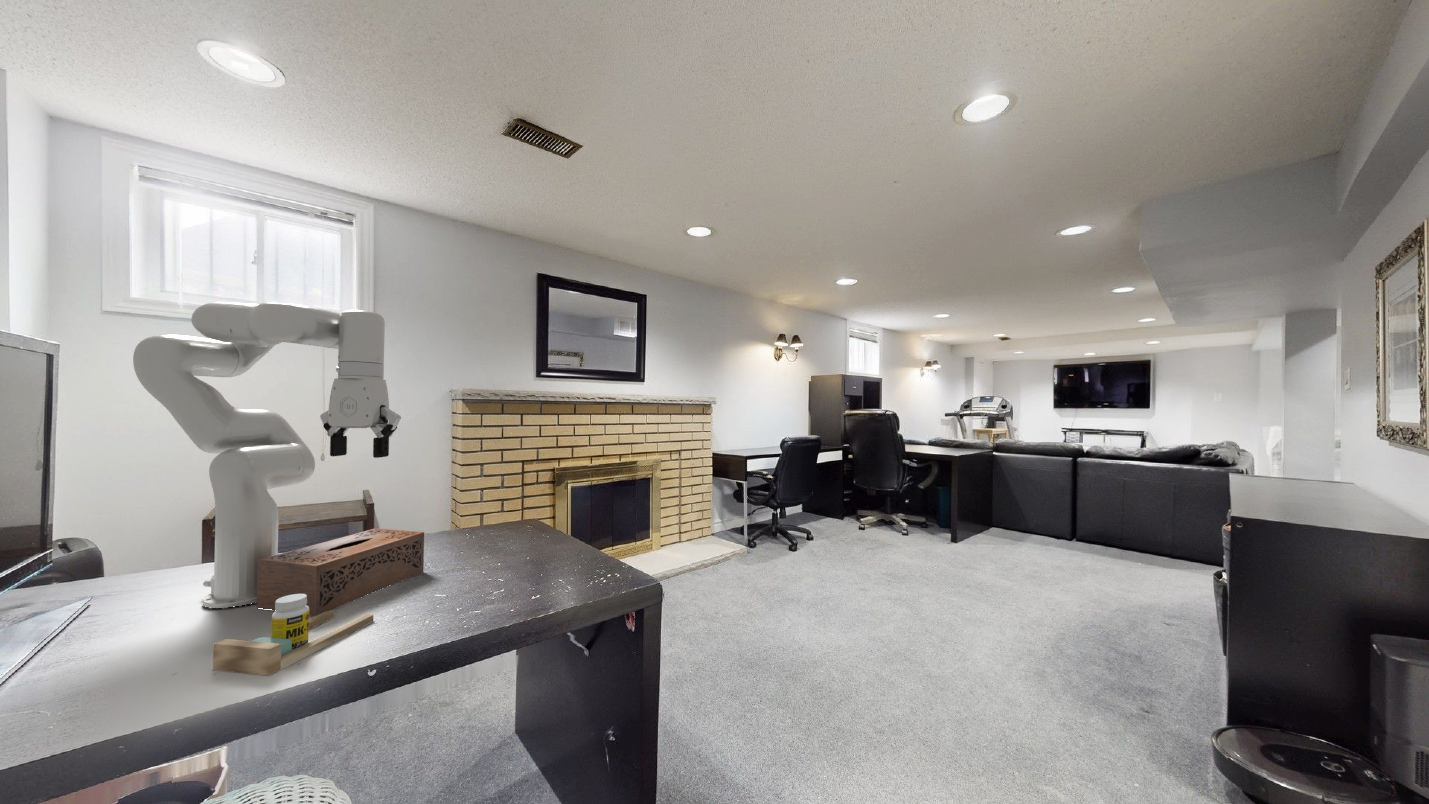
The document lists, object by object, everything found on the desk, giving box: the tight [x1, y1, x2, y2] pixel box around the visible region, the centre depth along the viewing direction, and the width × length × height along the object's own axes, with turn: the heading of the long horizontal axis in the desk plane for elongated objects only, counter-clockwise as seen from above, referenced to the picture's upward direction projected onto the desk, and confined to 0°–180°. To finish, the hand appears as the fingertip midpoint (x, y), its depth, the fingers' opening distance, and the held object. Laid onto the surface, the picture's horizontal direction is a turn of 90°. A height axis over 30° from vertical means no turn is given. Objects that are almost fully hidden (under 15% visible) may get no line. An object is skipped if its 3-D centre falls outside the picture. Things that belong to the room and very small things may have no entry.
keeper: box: [252, 636, 292, 656], centre depth 76 cm, size 6×3×3 cm, turn 82°
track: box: [212, 610, 374, 677], centre depth 82 cm, size 10×19×4 cm, turn 172°
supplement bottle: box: [270, 594, 310, 651], centre depth 80 cm, size 5×5×8 cm
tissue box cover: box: [256, 527, 425, 618], centre depth 106 cm, size 26×14×10 cm, turn 168°
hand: (359, 456), depth 97 cm, fingers open, 9 cm apart
